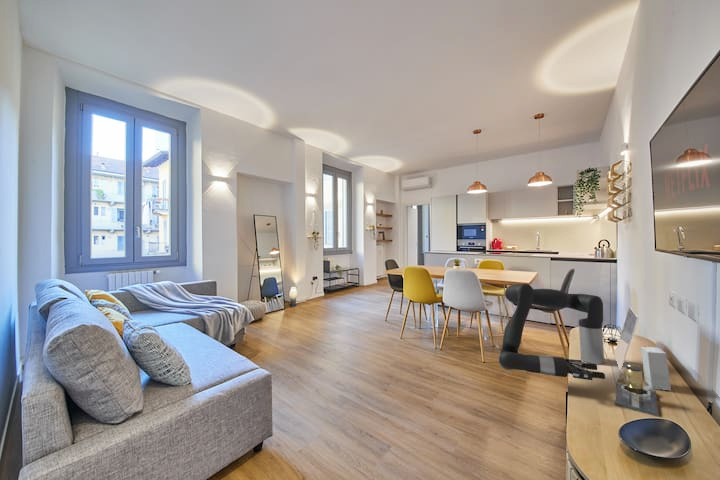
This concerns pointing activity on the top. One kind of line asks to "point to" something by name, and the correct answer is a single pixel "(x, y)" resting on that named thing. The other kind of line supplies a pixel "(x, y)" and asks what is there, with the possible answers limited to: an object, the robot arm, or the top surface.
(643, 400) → the socket base
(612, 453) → the top surface
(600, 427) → the top surface
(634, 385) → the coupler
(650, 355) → the skincare box
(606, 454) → the top surface
